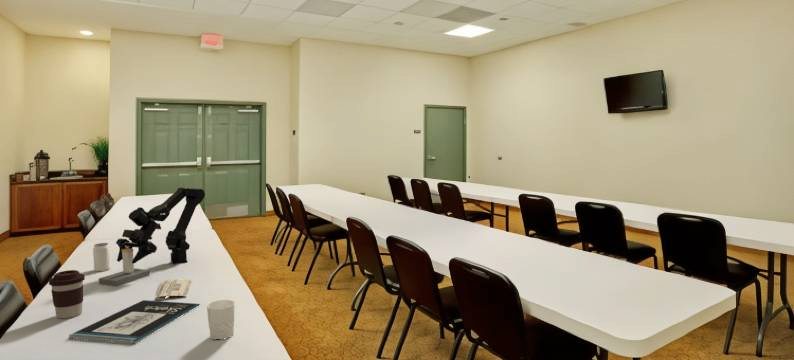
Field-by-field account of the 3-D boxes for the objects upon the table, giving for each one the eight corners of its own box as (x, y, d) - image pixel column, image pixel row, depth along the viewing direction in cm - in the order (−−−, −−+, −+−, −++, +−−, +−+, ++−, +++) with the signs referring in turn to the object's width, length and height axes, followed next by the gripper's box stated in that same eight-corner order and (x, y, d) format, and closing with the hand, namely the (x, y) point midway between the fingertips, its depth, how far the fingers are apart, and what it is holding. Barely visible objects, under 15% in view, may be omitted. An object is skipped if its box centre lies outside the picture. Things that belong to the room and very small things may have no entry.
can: (102, 271, 205) (101, 246, 204) (90, 271, 207) (89, 245, 206) (114, 268, 212) (112, 243, 211) (102, 267, 213) (101, 242, 212)
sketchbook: (199, 307, 164) (199, 301, 164) (133, 347, 132) (133, 340, 132) (143, 303, 168) (143, 297, 167) (66, 341, 136) (65, 334, 136)
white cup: (225, 328, 144) (224, 298, 143) (240, 334, 139) (239, 303, 139) (203, 337, 137) (201, 305, 137) (218, 343, 133) (216, 311, 132)
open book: (160, 285, 189) (160, 279, 189) (191, 285, 193) (192, 279, 193) (149, 303, 167) (150, 296, 167) (185, 302, 171) (185, 296, 171)
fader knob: (128, 270, 198) (127, 248, 197) (134, 271, 196) (133, 248, 196) (122, 272, 195) (121, 249, 194) (128, 273, 194) (127, 250, 193)
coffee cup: (63, 310, 159) (60, 268, 158) (93, 309, 160) (90, 268, 159) (44, 321, 150) (41, 277, 148) (75, 320, 150) (72, 276, 149)
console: (132, 273, 203) (132, 267, 203) (149, 275, 200) (149, 270, 200) (99, 284, 188) (98, 278, 188) (116, 286, 185) (116, 280, 185)
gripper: (118, 220, 201) (96, 250, 191) (150, 223, 194) (128, 254, 185) (134, 234, 209) (114, 263, 199) (165, 237, 202) (146, 267, 193)
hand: (125, 262), depth 194 cm, fingers open, 8 cm apart
